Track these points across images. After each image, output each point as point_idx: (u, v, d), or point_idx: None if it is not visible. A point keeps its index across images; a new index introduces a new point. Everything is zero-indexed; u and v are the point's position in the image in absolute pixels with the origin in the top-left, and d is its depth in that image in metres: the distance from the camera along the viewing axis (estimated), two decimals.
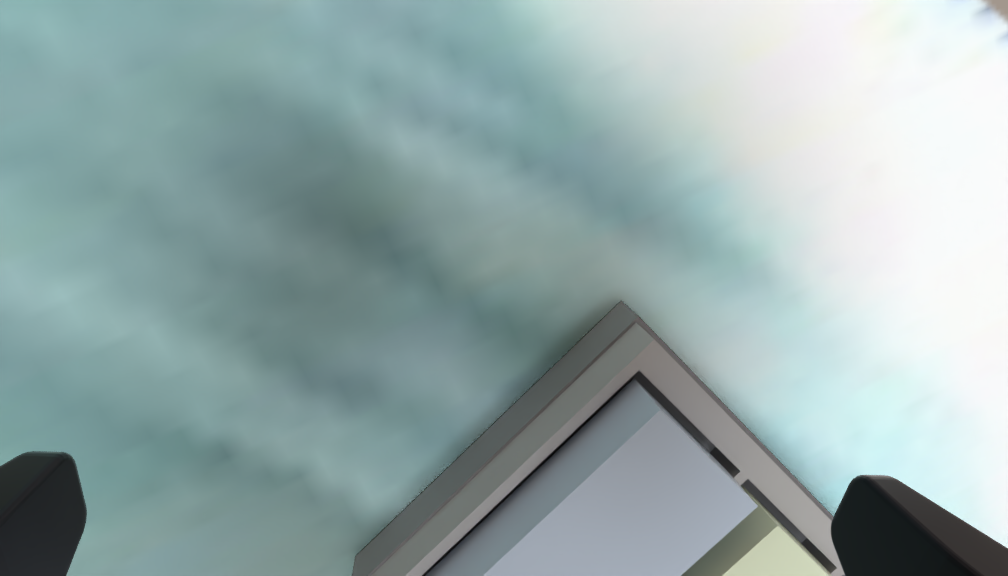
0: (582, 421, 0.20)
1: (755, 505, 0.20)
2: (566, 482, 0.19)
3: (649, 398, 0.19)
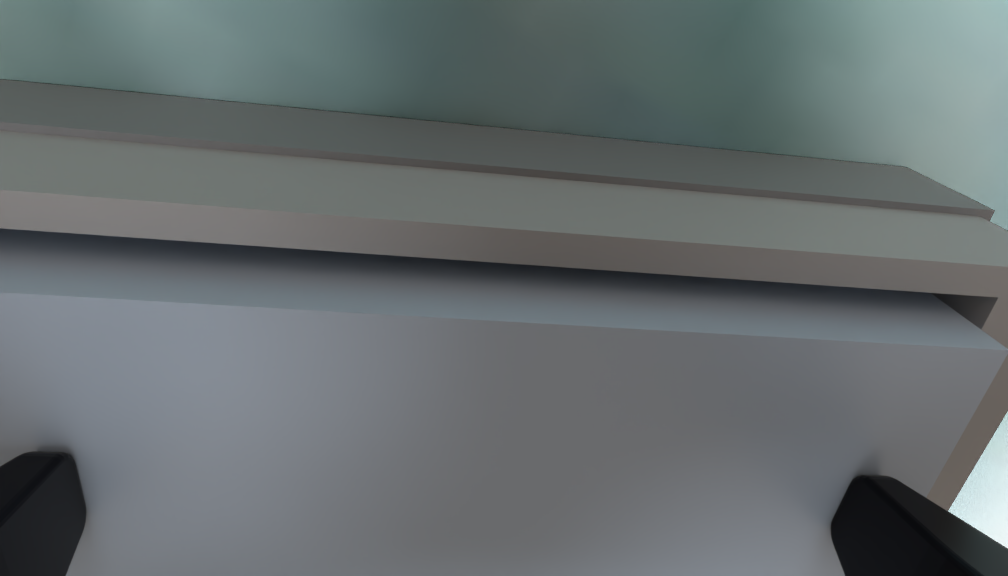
0: (815, 280, 0.07)
1: None
2: (689, 304, 0.07)
3: (953, 311, 0.08)
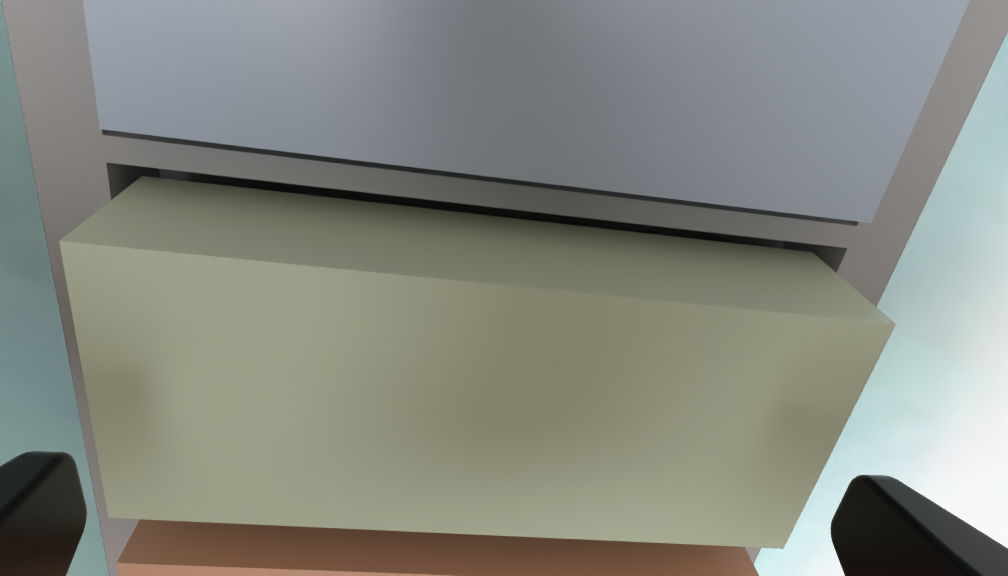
0: None
1: (871, 217, 0.10)
2: None
3: None
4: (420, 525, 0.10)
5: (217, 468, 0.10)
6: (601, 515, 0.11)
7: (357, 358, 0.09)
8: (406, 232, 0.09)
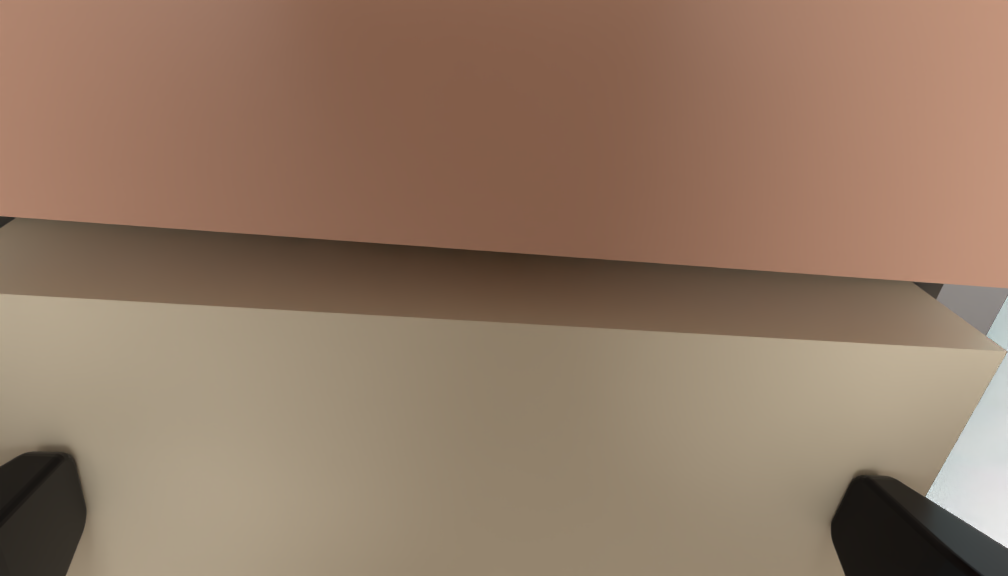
0: None
1: None
2: None
3: None
4: None
5: None
6: None
7: None
8: None
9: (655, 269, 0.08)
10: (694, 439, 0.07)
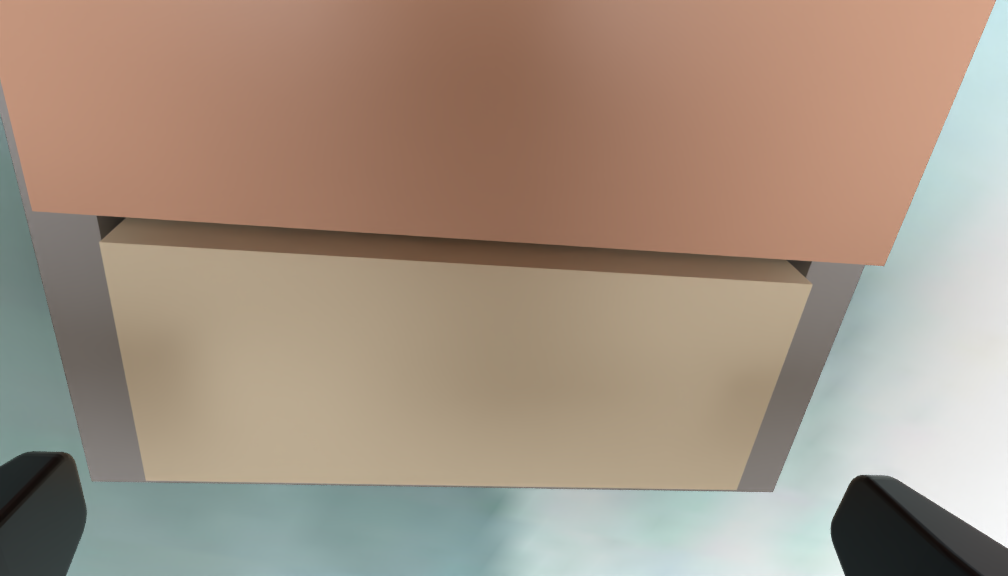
0: None
1: None
2: None
3: None
4: None
5: None
6: None
7: None
8: None
9: None
10: (603, 347, 0.11)
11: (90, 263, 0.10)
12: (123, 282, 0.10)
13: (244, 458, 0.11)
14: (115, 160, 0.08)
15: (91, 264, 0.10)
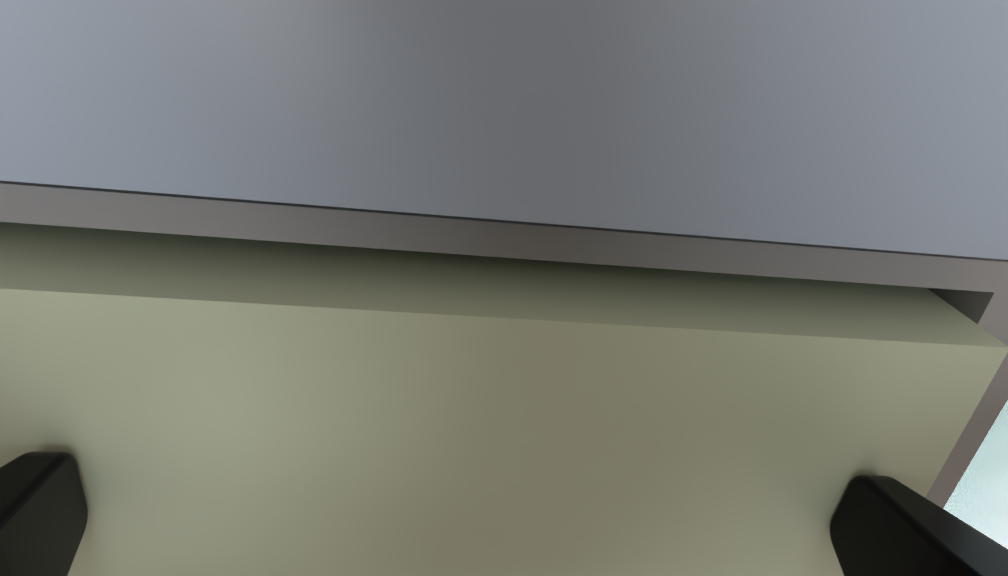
0: None
1: None
2: None
3: None
4: None
5: (154, 555, 0.08)
6: None
7: (322, 416, 0.07)
8: (382, 251, 0.07)
9: None
10: None
11: None
12: None
13: None
14: None
15: None
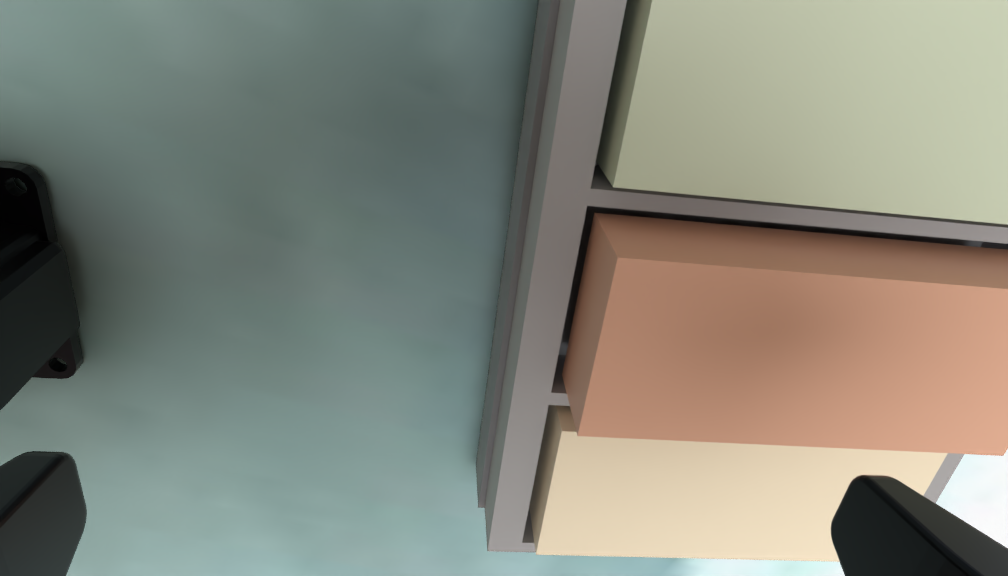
0: None
1: None
2: None
3: None
4: (823, 200, 0.14)
5: (701, 142, 0.13)
6: (952, 194, 0.14)
7: (825, 43, 0.13)
8: None
9: None
10: (822, 482, 0.18)
11: (534, 434, 0.18)
12: (566, 450, 0.17)
13: (597, 542, 0.19)
14: (627, 414, 0.15)
15: (534, 434, 0.18)
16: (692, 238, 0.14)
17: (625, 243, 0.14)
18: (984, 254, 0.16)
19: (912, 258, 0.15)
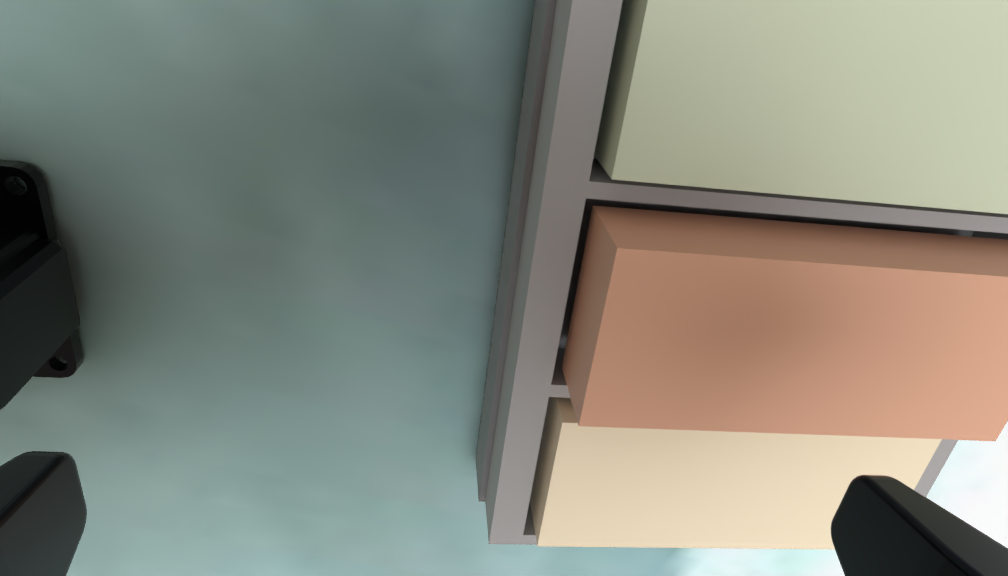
0: None
1: None
2: None
3: None
4: (817, 190, 0.14)
5: (697, 134, 0.14)
6: (943, 183, 0.15)
7: (817, 36, 0.13)
8: None
9: None
10: (818, 471, 0.19)
11: (535, 426, 0.18)
12: (567, 441, 0.17)
13: (597, 533, 0.19)
14: (627, 404, 0.15)
15: (535, 426, 0.18)
16: (689, 229, 0.15)
17: (624, 234, 0.14)
18: (974, 243, 0.16)
19: (905, 247, 0.15)
